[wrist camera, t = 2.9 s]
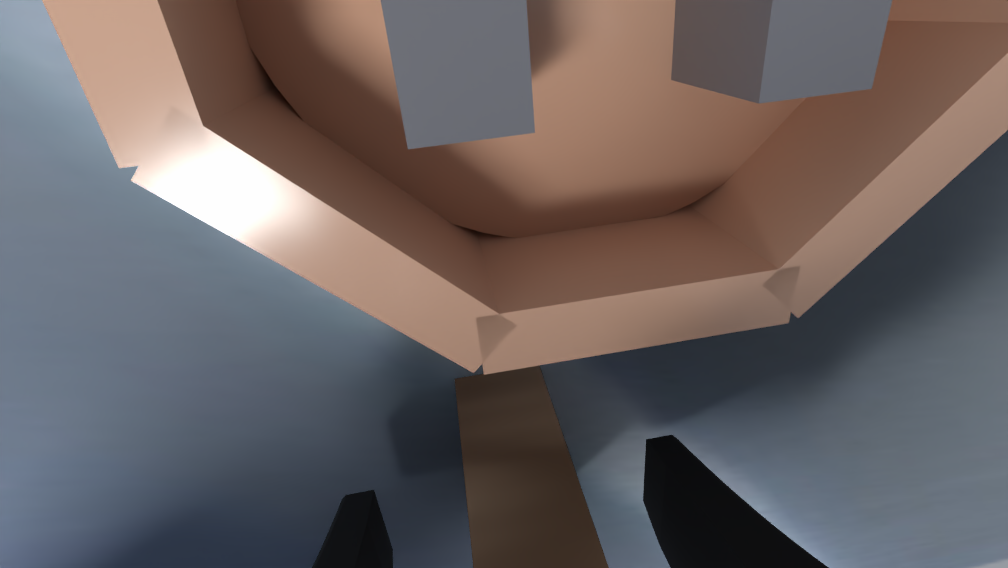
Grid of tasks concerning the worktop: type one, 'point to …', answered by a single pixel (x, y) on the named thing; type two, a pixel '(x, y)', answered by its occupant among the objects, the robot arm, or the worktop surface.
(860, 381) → the worktop surface
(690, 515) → the robot arm
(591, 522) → the brown rectangular block
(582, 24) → the tan octagonal tray
